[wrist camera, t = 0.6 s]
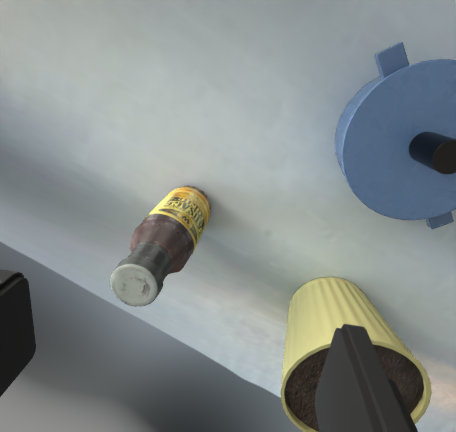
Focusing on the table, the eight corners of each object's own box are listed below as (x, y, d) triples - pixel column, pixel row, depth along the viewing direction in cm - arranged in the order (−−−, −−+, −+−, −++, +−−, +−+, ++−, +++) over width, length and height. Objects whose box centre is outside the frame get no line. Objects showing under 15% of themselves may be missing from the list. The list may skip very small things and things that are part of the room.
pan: (364, 230, 44) (379, 252, 39) (308, 84, 38) (316, 85, 33) (483, 185, 41) (518, 202, 35) (442, 17, 35) (477, 5, 29)
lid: (367, 236, 39) (386, 263, 33) (317, 107, 34) (329, 113, 28) (517, 180, 35) (568, 200, 29) (485, 27, 30) (538, 14, 24)
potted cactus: (404, 289, 47) (615, 593, 19) (346, 363, 53) (442, 678, 25) (306, 246, 46) (379, 502, 18) (257, 326, 51) (255, 614, 24)
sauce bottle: (221, 206, 44) (195, 294, 26) (190, 235, 46) (145, 335, 28) (185, 171, 43) (130, 238, 25) (155, 203, 45) (83, 286, 27)
